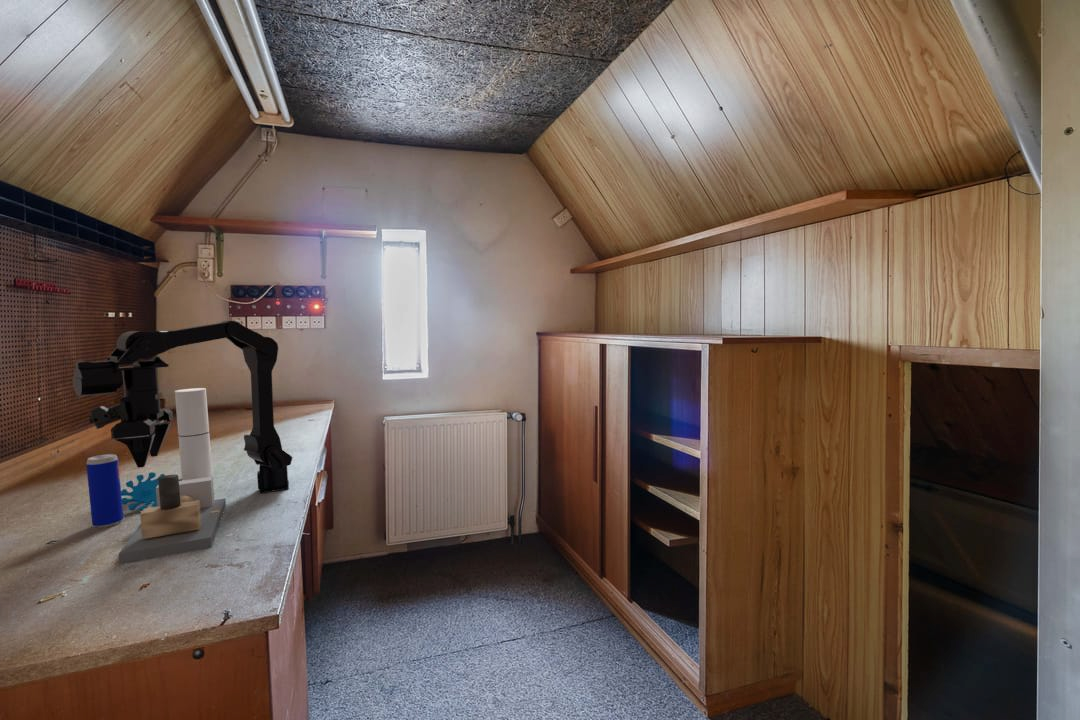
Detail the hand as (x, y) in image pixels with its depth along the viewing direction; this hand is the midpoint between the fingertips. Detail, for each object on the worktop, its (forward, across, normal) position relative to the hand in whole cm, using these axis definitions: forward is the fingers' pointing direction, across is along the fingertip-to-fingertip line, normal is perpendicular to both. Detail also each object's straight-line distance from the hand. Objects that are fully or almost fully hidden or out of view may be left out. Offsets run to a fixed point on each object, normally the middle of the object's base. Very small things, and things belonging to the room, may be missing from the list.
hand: (147, 461), depth 106 cm
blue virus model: (+14, -13, -3) cm, 20 cm away
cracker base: (+14, +8, +6) cm, 17 cm away
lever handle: (+11, +14, +7) cm, 19 cm away
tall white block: (+14, -35, +2) cm, 38 cm away
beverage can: (+14, -5, -9) cm, 17 cm away
